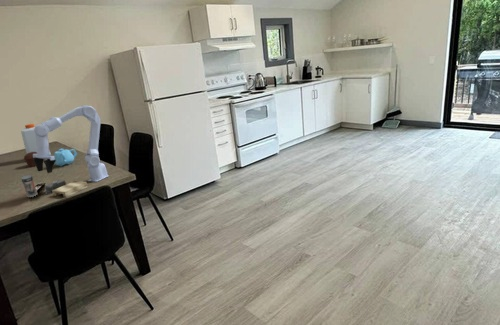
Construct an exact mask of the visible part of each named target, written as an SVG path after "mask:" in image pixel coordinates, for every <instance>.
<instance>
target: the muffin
mask: <svg viewBox="0 0 500 325" xmlns="http://www.w3.org/2000/svg"><path fill="white" fill-rule="evenodd" d="M33 154H37V152H30V153H27V154H25V155H24V157H23V159H24V161H25V163H26V165H27V166H28V167H29V168H33V167H36V165H35V163H34V162H33V161H32V159H34V158H33Z"/></svg>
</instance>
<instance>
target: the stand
mask: <svg viewBox="0 0 500 325" xmlns="http://www.w3.org/2000/svg"><path fill="white" fill-rule="evenodd" d="M86 188H89V184H88V181H82V180H81V181H80V180H79V181H78V180H74V181H71V182H69V183H66V185H64V186H62V187H59V188H57V189H55V190H52V192H53V193H52V195H53V197H57V196H60V195H61V194H62V196H63V197H64V198H67V197H69V196H72V195H75V194H76V193H78V192H80V191H82V190H85V189H86Z"/></svg>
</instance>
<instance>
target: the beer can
mask: <svg viewBox="0 0 500 325" xmlns="http://www.w3.org/2000/svg"><path fill="white" fill-rule="evenodd" d="M20 179H21V182H22V185H23V187H24V188H23V189H24V190H25V193H26V196H27V198H29V197H32V198H35V197H37V196H38V191H37V188H36V185H35V182H34V178H33V176H32V175H31V174H26V175H22V176H21V178H20ZM36 195H37V196H36ZM34 196H35V197H34Z"/></svg>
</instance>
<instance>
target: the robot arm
mask: <svg viewBox="0 0 500 325" xmlns="http://www.w3.org/2000/svg"><path fill="white" fill-rule="evenodd" d="M75 117H84V118H86V119H87V120H88V121H89V122H90V128H89V129H90V130H89V137H88V148H87V151H86V153H85V156H84V159H83V160H84V161H85V163H86V164H87V165H86V168H87V172H88V175H89V179H87V181H86V182H94V183H97V182H99V181H101V180H104V179H106V178H108V177H110V175H109V174H108V170H107V168H106V165H105V164H104V163H103V162H100V161H101V160H100V157H99V156H100V155H99V154H100V153H99V143H100V142H99V140H100V134H101V133H100V131H101V124H102V123H101V121H102V119H101V118H100V115H99V114H98V111H97V109H96V108H94V107H93V106H92V105H86V104H84V105H81V106H78V107H75V108H73V109H71V110H69V111H68V112H66V113H65V114H62V115H61V116H59V117H56V116H51V117H49V119H48V120H46V121H41V122H40V123H41V124H37V125H34V126H35V128H34V132H35V133H36V136H35V137H36V149H37V154H33V158H34V159H32V161H33V162H34V163H35V165H36V166H35V167H36V170H37V171H38V172H42V171H44V170H43V168H44V165H45V168H46V169H45V170H46V172H47V174H51V173H53V169H54V165H55V161H56V160H55V158H54V155H52V154H51V155H50V153H51V152H50V153H49V151H50V143H49V138H48V136H49V133H51V132H53V131H55V130H57V129H59V128H60V127H62V126H63V123H65V122H66V121H68V120H71V119H73V118H75Z"/></svg>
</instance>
